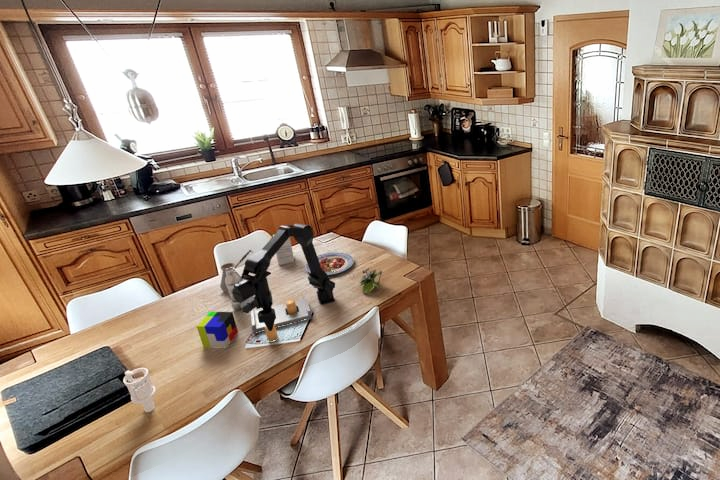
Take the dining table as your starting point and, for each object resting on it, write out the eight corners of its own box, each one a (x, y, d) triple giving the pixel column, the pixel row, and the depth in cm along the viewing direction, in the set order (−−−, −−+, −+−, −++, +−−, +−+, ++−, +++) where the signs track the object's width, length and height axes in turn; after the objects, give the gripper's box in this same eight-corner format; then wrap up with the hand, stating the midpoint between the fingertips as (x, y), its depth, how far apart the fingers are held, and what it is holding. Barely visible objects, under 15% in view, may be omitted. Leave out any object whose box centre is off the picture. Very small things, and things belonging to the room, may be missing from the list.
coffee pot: (230, 297, 192) (223, 269, 186) (216, 291, 198) (209, 264, 192) (264, 277, 207) (258, 251, 201) (250, 272, 213) (244, 247, 207)
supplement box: (277, 258, 226) (272, 234, 220) (293, 255, 228) (288, 231, 222) (278, 265, 218) (273, 240, 212) (294, 262, 219) (289, 237, 213)
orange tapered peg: (296, 310, 174) (294, 299, 172) (298, 315, 171) (295, 303, 168) (287, 313, 173) (285, 301, 171) (288, 318, 170) (286, 306, 167)
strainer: (149, 398, 134) (134, 363, 128) (166, 401, 132) (151, 366, 126) (132, 415, 128) (116, 379, 122) (150, 418, 126) (134, 382, 120)
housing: (306, 302, 180) (304, 294, 178) (311, 318, 167) (310, 310, 166) (252, 315, 174) (250, 308, 173) (254, 333, 162) (251, 325, 160)
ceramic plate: (312, 256, 224) (311, 251, 223) (357, 254, 220) (356, 249, 219) (300, 279, 201) (299, 274, 200) (350, 277, 197) (349, 272, 196)
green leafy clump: (368, 295, 190) (371, 270, 192) (386, 297, 183) (390, 271, 185) (353, 292, 182) (356, 266, 184) (371, 294, 175) (375, 267, 177)
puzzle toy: (226, 348, 155) (219, 327, 151) (203, 347, 157) (196, 326, 153) (238, 332, 164) (232, 312, 160) (216, 331, 166) (210, 311, 162)
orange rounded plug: (277, 334, 159) (274, 322, 157) (278, 340, 156) (275, 328, 153) (267, 337, 159) (264, 325, 156) (268, 343, 155) (265, 330, 153)
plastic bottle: (250, 305, 183) (240, 266, 175) (240, 313, 177) (230, 273, 169) (239, 303, 185) (229, 265, 177) (229, 311, 180) (218, 272, 172)
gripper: (238, 283, 155) (247, 316, 161) (239, 307, 138) (249, 343, 144) (267, 276, 157) (275, 309, 163) (272, 299, 141) (280, 335, 147)
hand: (269, 324), depth 154 cm, fingers open, 9 cm apart
